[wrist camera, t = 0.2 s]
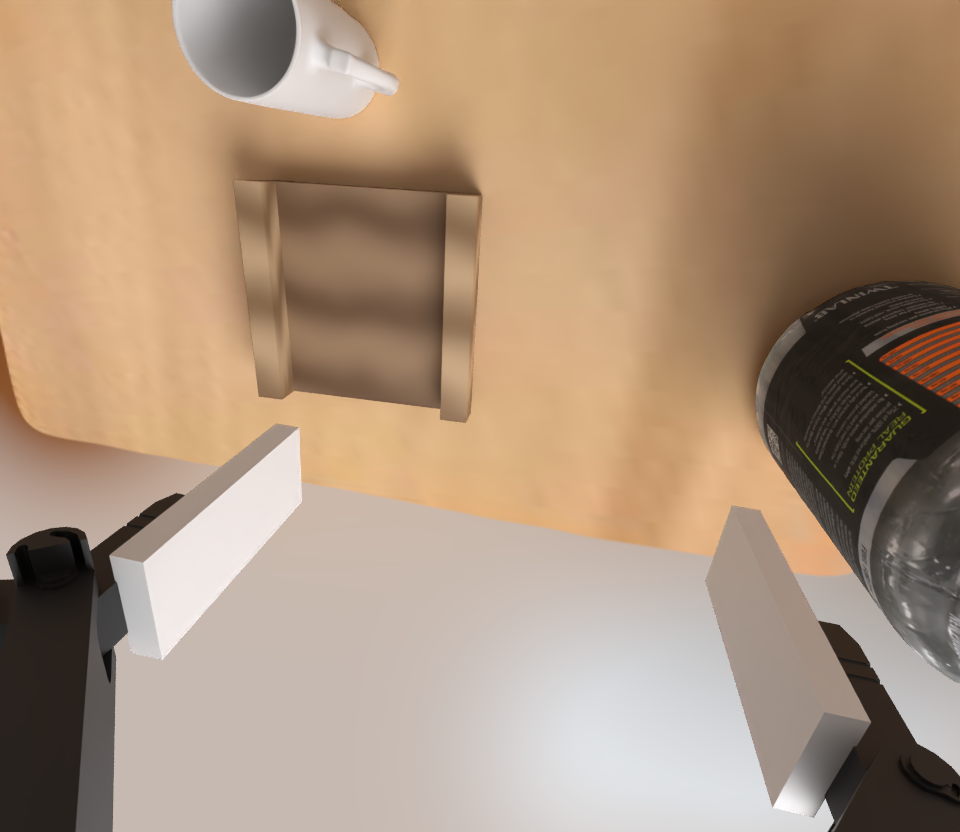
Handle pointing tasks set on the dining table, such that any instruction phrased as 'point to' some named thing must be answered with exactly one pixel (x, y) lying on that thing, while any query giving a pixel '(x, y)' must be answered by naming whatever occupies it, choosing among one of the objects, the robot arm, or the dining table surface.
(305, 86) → the mug
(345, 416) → the dining table surface
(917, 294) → the supplement tub
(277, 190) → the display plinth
